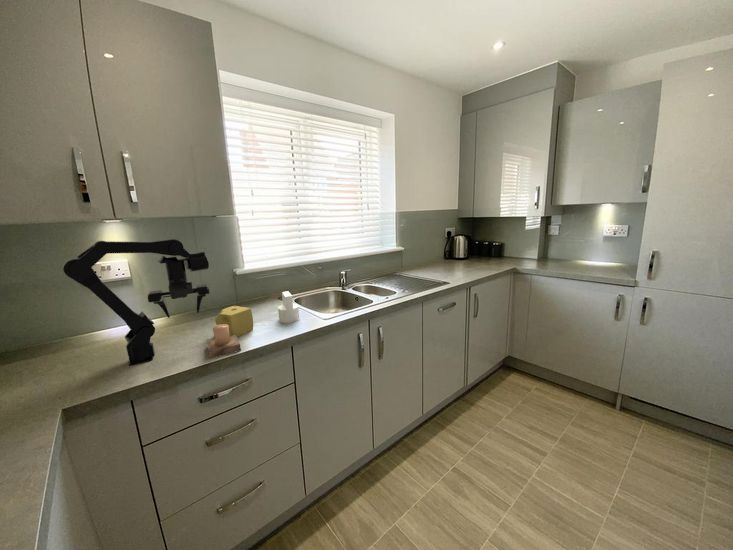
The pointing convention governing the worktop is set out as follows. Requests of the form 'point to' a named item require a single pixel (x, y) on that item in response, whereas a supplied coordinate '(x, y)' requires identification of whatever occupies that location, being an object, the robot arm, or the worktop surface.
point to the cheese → (236, 320)
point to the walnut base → (223, 347)
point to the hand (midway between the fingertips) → (183, 315)
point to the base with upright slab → (288, 309)
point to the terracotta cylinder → (221, 334)
